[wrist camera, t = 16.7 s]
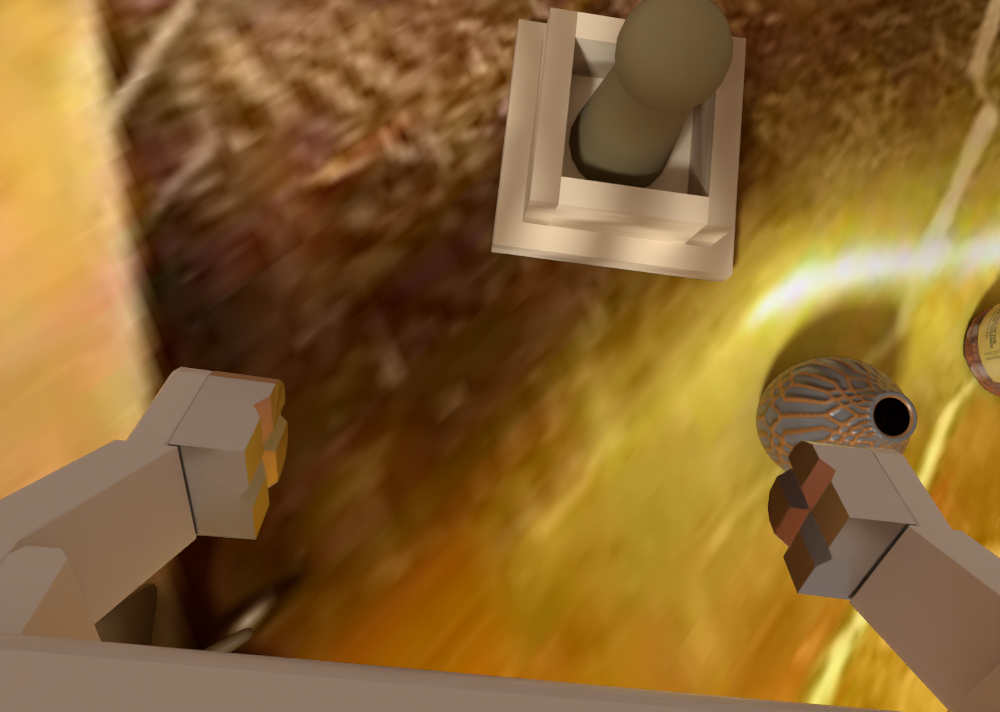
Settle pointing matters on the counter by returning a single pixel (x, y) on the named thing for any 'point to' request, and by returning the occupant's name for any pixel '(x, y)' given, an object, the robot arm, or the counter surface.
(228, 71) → the counter surface
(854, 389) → the vase
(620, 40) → the cork
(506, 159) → the shaker holder
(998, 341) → the sauce bottle
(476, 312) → the counter surface
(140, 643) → the kendama
